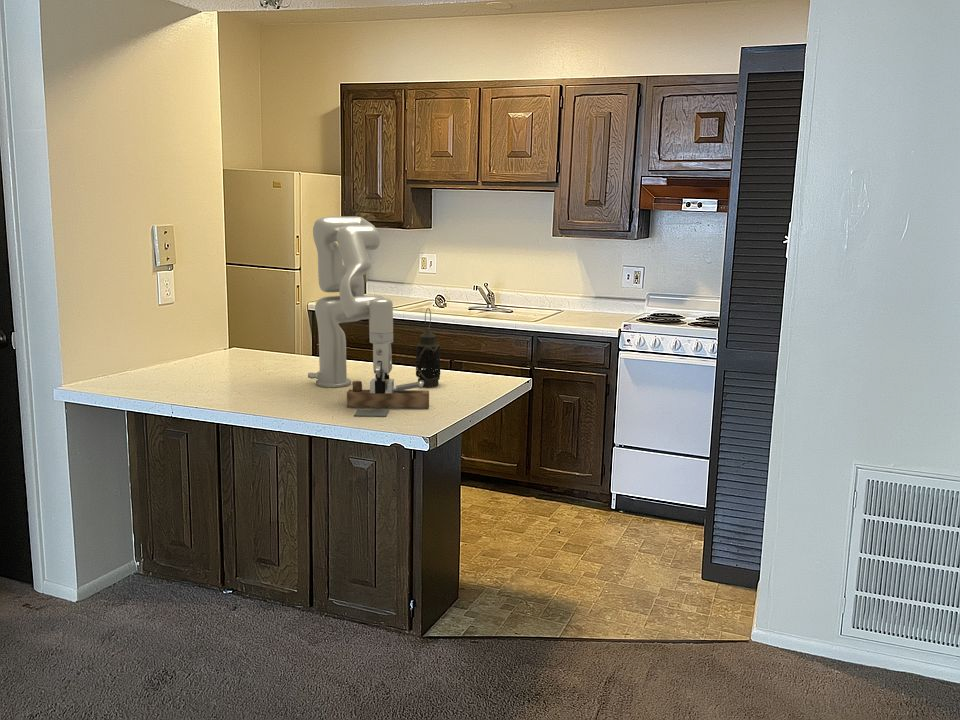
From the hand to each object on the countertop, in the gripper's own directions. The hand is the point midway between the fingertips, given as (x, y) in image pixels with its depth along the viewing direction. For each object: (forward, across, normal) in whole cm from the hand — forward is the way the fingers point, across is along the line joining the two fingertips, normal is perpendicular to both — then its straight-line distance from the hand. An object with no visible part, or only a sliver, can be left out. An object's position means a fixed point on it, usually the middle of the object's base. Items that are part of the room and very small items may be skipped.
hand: (382, 389), depth 274 cm
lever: (0, 0, -4) cm, 4 cm away
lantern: (+6, +32, -12) cm, 34 cm away
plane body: (+6, 0, -2) cm, 6 cm away
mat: (+6, -9, +2) cm, 11 cm away
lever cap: (+1, 0, 0) cm, 1 cm away
